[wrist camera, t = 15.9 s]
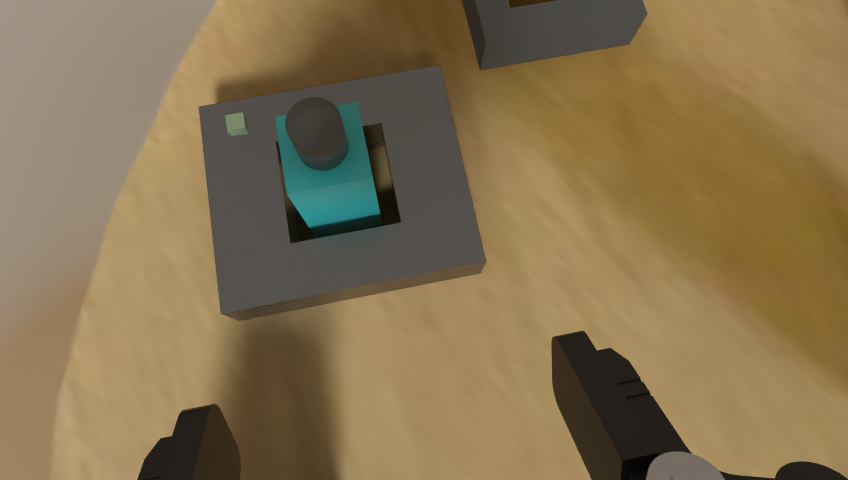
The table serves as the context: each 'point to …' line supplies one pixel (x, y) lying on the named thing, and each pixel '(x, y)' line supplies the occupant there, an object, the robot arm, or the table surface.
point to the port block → (349, 252)
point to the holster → (549, 28)
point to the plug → (328, 166)
